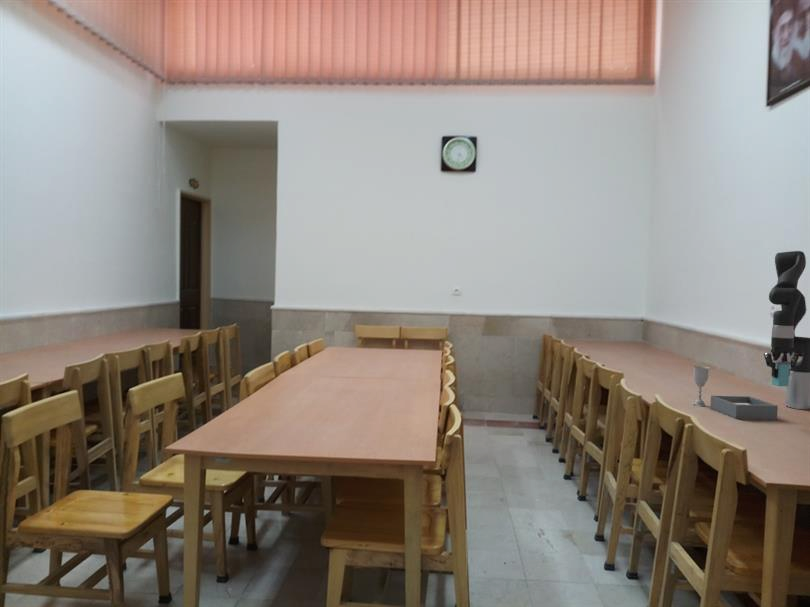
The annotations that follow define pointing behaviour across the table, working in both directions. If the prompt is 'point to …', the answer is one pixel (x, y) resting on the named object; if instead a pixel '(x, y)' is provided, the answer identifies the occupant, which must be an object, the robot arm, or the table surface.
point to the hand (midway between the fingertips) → (780, 377)
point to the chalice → (700, 381)
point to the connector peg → (782, 374)
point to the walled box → (744, 407)
